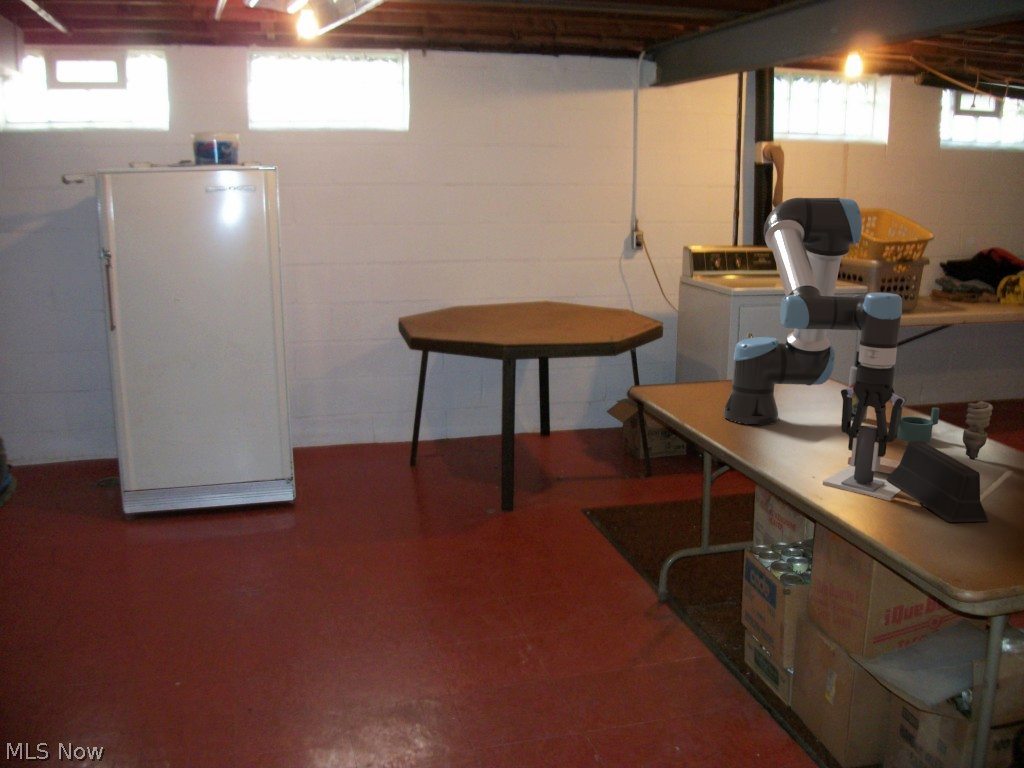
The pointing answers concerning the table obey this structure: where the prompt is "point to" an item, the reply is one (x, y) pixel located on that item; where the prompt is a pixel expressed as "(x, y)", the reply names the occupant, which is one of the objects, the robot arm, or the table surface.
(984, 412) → the light bulb
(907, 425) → the bracket
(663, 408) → the table surface
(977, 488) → the barrier
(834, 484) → the board
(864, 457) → the tool handle
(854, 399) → the lotion bottle
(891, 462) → the tile
